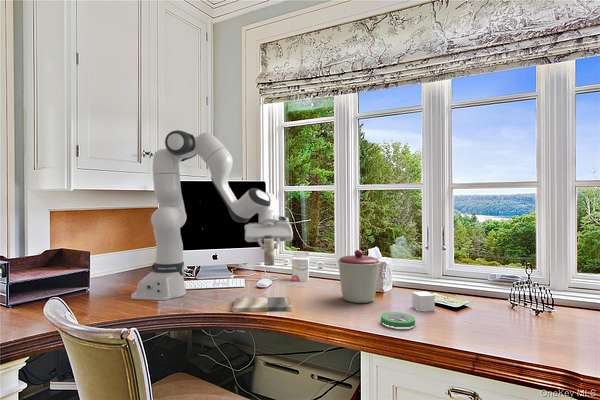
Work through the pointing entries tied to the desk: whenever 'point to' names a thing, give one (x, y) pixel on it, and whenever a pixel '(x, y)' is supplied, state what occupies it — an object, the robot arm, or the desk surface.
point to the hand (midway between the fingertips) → (269, 248)
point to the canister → (358, 277)
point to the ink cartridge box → (300, 266)
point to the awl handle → (269, 250)
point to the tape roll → (396, 315)
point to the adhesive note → (423, 301)
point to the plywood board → (262, 304)
